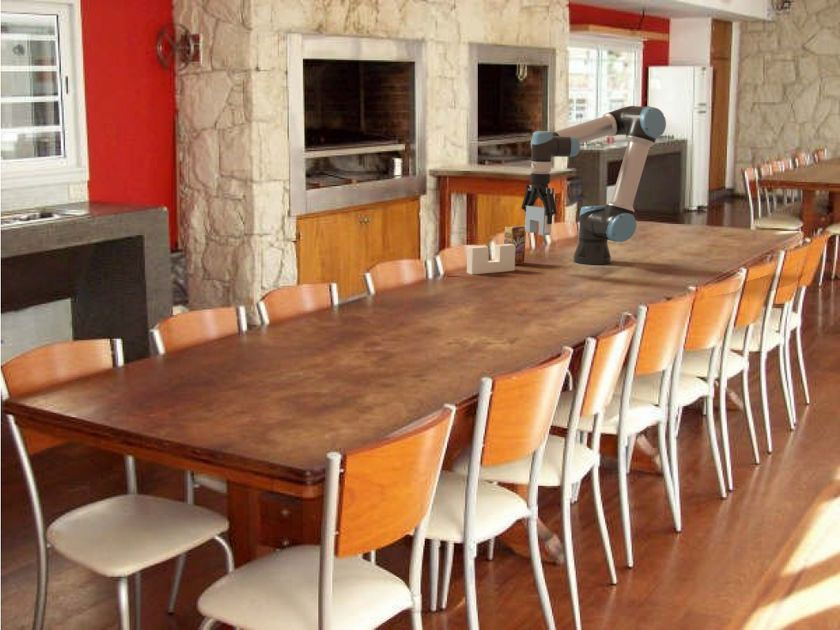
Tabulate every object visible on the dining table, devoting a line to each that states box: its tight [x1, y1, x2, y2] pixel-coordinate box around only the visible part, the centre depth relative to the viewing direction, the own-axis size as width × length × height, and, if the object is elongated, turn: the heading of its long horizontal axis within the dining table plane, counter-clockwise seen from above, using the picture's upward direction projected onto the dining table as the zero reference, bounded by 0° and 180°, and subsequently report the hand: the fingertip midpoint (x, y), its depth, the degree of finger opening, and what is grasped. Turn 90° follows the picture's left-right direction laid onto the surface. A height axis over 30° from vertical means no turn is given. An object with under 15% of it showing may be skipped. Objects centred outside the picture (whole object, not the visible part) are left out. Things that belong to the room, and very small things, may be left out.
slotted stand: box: [466, 243, 516, 275], centre depth 418 cm, size 20×4×10 cm, turn 122°
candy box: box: [503, 224, 527, 265], centre depth 436 cm, size 9×4×15 cm, turn 134°
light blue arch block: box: [524, 205, 551, 236], centre depth 414 cm, size 11×4×10 cm, turn 32°
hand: (537, 230), depth 415 cm, fingers closed on light blue arch block, 11 cm apart
